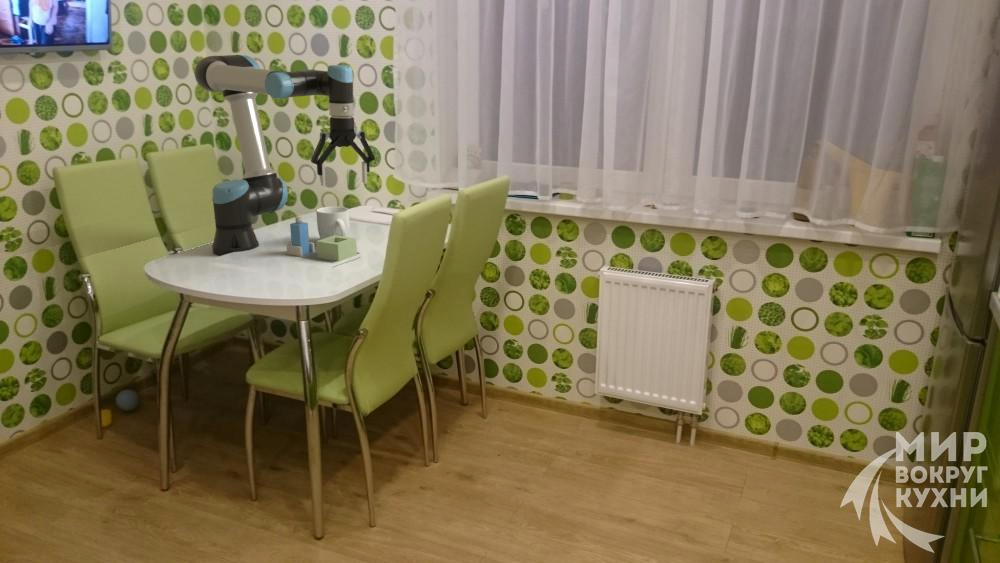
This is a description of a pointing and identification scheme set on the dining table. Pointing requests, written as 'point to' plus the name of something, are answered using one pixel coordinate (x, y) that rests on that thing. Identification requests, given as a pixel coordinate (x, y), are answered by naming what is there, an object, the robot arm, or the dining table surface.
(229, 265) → the dining table surface
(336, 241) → the port
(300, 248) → the panel
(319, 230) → the mug
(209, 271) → the dining table surface
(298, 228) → the plug
